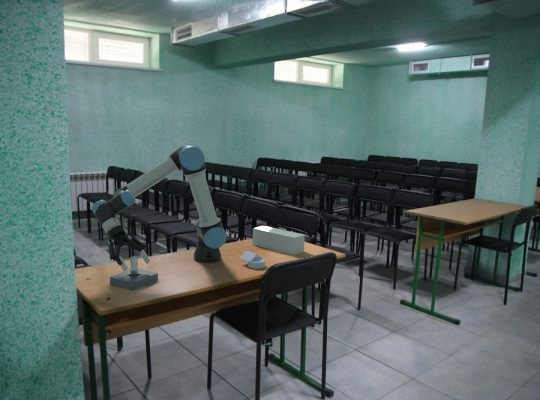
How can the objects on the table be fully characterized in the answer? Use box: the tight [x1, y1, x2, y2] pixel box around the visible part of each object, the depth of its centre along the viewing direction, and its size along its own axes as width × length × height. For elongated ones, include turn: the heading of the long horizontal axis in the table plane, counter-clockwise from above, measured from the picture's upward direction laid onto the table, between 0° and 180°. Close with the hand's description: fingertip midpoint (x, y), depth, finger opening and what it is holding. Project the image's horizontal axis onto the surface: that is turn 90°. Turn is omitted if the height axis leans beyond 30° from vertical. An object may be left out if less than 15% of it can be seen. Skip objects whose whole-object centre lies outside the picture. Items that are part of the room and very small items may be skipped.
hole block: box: [109, 267, 159, 291], centre depth 201 cm, size 16×14×4 cm
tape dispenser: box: [239, 250, 266, 270], centre depth 232 cm, size 9×7×13 cm
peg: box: [129, 255, 139, 277], centre depth 200 cm, size 3×3×12 cm
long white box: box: [251, 225, 306, 256], centre depth 267 cm, size 32×11×11 cm, turn 51°
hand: (137, 266), depth 199 cm, fingers open, 13 cm apart
